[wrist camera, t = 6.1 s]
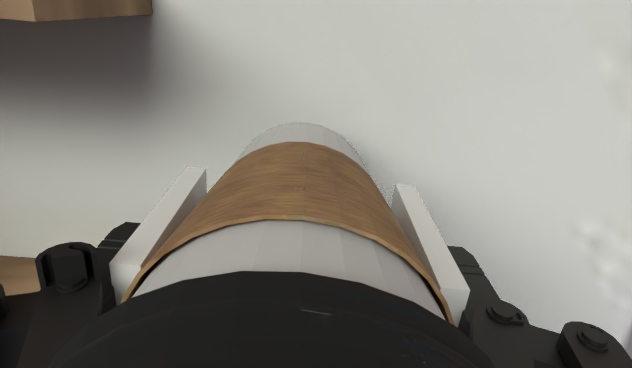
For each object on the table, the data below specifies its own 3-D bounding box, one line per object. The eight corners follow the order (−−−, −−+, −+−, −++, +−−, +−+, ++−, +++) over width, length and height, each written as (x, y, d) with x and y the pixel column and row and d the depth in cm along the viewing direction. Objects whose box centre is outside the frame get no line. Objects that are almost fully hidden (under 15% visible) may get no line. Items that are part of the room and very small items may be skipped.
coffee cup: (395, 258, 20) (567, 804, 6) (223, 269, 20) (33, 819, 7) (394, 83, 17) (750, 442, 3) (188, 100, 17) (-338, 501, 3)
